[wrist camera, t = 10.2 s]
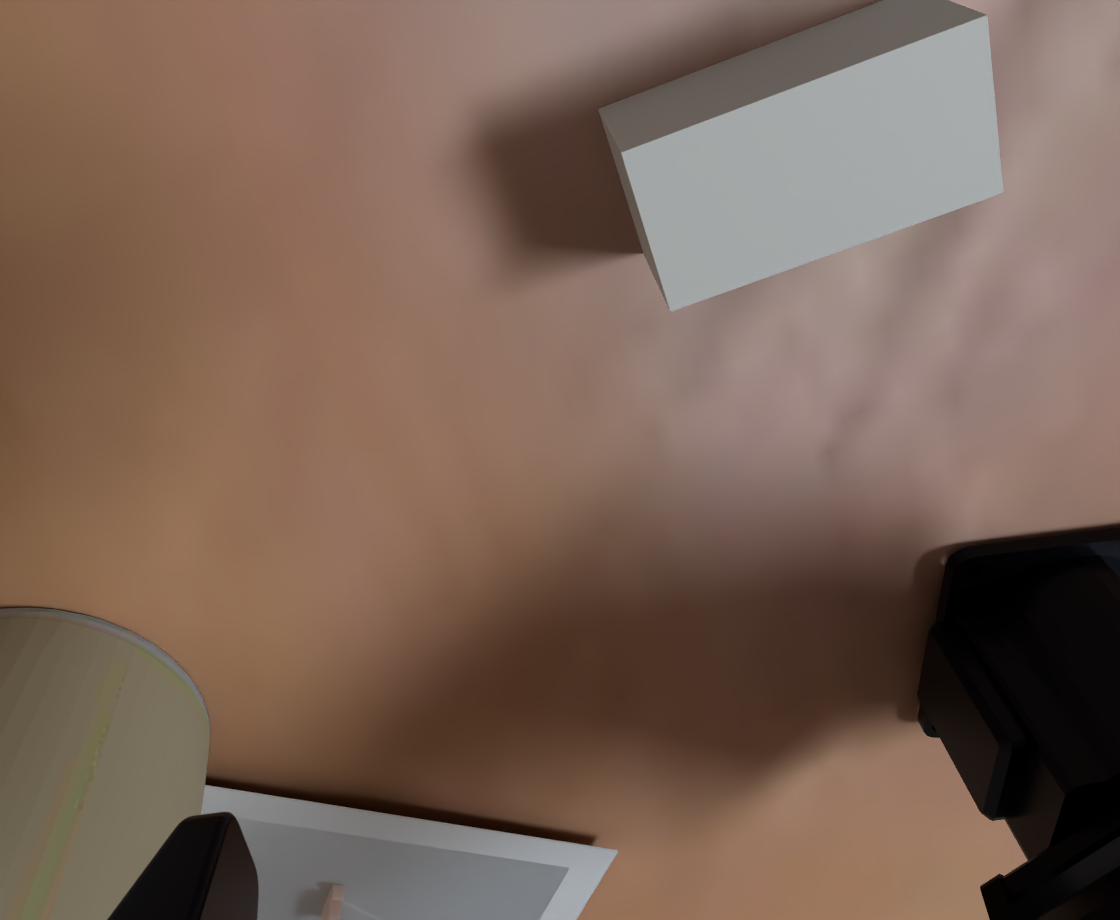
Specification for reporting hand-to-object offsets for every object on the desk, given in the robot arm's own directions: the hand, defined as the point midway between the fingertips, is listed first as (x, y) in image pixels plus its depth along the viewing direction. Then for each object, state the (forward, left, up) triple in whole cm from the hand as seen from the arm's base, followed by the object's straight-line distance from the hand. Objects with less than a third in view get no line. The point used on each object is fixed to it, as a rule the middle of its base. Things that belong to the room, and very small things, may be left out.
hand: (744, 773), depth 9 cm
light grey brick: (-4, -2, -13) cm, 14 cm away
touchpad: (+8, +19, -14) cm, 25 cm away
